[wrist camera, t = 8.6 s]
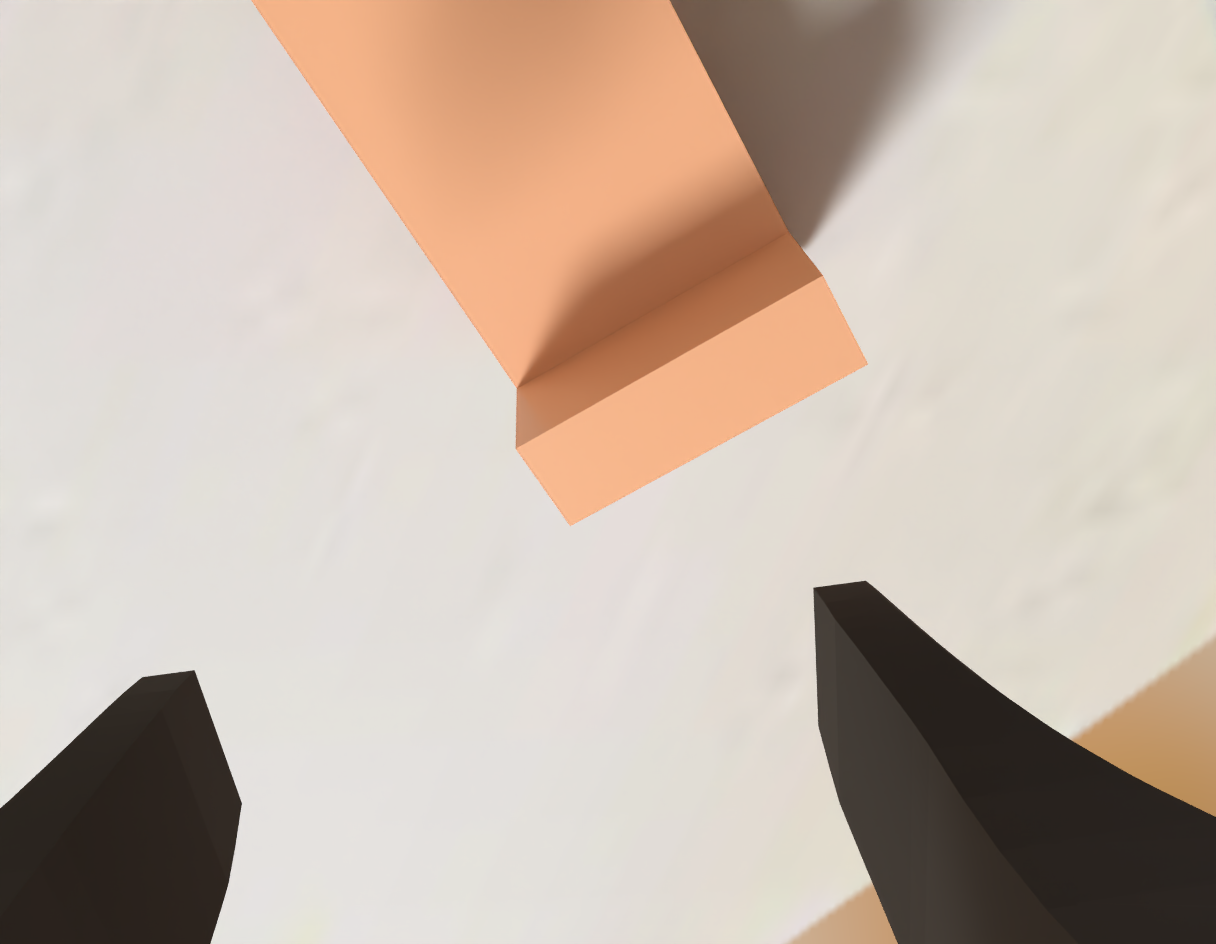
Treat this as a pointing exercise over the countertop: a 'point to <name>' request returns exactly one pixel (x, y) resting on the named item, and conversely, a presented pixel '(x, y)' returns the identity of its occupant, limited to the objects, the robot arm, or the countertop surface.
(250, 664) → the countertop surface
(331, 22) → the peach l-shaped bracket
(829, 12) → the countertop surface
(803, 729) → the countertop surface
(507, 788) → the countertop surface
